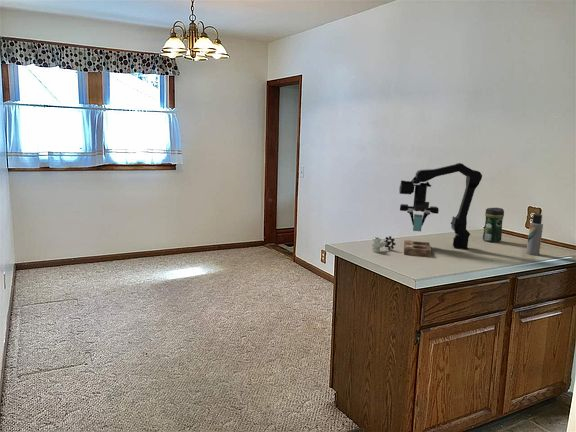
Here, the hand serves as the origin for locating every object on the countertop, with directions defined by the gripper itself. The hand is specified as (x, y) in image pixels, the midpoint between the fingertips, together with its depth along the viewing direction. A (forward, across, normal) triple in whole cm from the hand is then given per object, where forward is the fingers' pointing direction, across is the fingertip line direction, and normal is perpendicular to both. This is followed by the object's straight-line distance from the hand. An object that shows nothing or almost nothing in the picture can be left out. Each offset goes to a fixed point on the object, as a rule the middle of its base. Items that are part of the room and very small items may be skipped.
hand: (417, 225), depth 244 cm
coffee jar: (+10, +41, +29) cm, 51 cm away
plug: (+3, 0, 0) cm, 3 cm away
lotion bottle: (+10, +56, +4) cm, 57 cm away
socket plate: (+10, 0, -15) cm, 18 cm away
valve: (+10, -16, -21) cm, 28 cm away
